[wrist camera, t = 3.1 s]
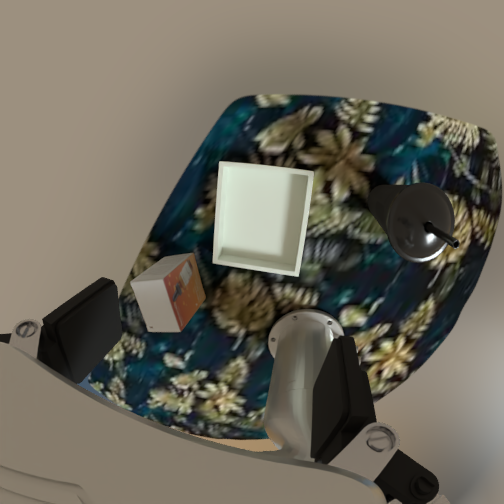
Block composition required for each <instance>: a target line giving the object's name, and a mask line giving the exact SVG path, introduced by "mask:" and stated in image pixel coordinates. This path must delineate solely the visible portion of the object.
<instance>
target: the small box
mask: <svg viewBox="0 0 504 504" xmlns="http://www.w3.org/2000/svg"><path fill="white" fill-rule="evenodd" d="M130 283H131V286H132V288H133V291H134V294H135V296H136V299H137V302H138V305H139V307H140V310H141V312H142V315H143V318H144V320H145V323H146V326H147V329H148V331H149V332H181V331H182V330H183V328H184V327H185V326H186V324H187V323H188V322H189V320H190V319H191V318H192V316H193V315H194V313H195V312H196V311H197V309H198V308H199V307H200V305H201V304H202V303H203V301H204V300H205V299H206V296H205V293H204V290H203V286H202V283H201V279H200V275H199V271H198V267H197V264H196V260H195V255H194V253H187V254H180V255H173V256H167V257H164V258H162V259H161V260H159V261H158V262H157V263H155V264H154V265H152V266H151V267H149V268H148V269H147V270H145V271H144V272H143V273H141V274H140V275H138V276H137V277H136V278H134V279H133V280H132V281H130Z"/></svg>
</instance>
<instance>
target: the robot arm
mask: <svg viewBox="0 0 504 504" xmlns="http://www.w3.org/2000/svg"><path fill="white" fill-rule="evenodd" d="M42 320H43V324H44V325H43V326H42V327H41V325H40V323H39V322H38V321H36V320H33V319H27V320H23V321H20V322H19V323H17V324H16V325H15V327H14V329H13V331H12V333H10V334H0V504H450V503H449V502H448V500H447V499H446V497H445V496H444V495H442V496H439V494H438V491H439V483H438V480H437V478H436V476H435V475H434V474H433V473H431V472H430V471H428V470H427V469H425V468H424V467H423V466H421V465H420V464H418V463H417V462H416V461H414V460H413V459H411V458H410V457H409V456H407V455H406V454H404V453H403V452H402V451H400V450H399V449H398V447H399V445H400V439H399V435H398V433H397V432H396V431H395V429H393V428H392V427H391V426H389V425H387V424H385V423H380V422H378V423H377V421H376V415H375V410H374V404H373V399H372V394H371V389H370V384H369V380H368V375H367V373H366V372H365V371H361V368H360V362H361V358H360V357H358V354H357V352H358V346H356V345H355V341H354V338H353V337H348V336H344V332H343V329H342V327H341V325H340V323H339V322H338V321H337V320H336V319H335V318H334V317H333V316H331V315H329V314H328V313H326V312H323V311H320V310H314V309H301V310H296V311H293V312H290V313H288V314H286V315H284V316H282V317H281V318H280V319H279V320H277V321H276V323H275V324H274V325H273V327H272V329H271V331H270V334H269V339H268V345H269V350H270V352H271V354H272V356H273V357H274V359H275V360H274V366H273V371H272V377H271V382H270V388H269V393H268V398H267V404H266V409H265V415H264V426H265V430H266V433H267V435H268V436H269V438H270V440H271V441H272V442H273V443H274V445H275V446H276V447H277V448H278V449H279V450H277V451H263V452H253V451H249V450H244V449H240V448H235V447H231V446H227V445H223V444H220V443H216V442H212V441H208V440H205V439H201V438H198V437H195V436H192V435H189V434H186V433H183V432H180V431H177V430H174V429H172V428H169V427H166V426H164V425H161V424H158V423H156V422H153V421H151V420H148V419H146V418H143V417H141V416H139V415H136V414H134V413H132V412H130V411H127V410H125V409H123V408H121V407H119V406H117V405H115V404H113V403H111V402H108V401H107V400H105V399H103V398H101V397H99V396H97V395H95V394H93V393H91V392H90V391H88V390H86V389H84V388H82V387H81V386H79V385H77V383H81V382H82V381H83V380H84V378H85V377H86V376H87V375H88V374H89V373H90V372H91V371H92V370H93V369H94V367H95V366H96V365H97V364H98V363H99V362H100V361H101V360H102V359H103V358H104V357H105V355H106V354H107V353H108V352H109V351H110V350H111V349H112V348H113V347H114V346H115V345H116V344H117V343H118V341H119V340H120V339H121V337H122V327H121V319H120V311H119V301H118V291H117V286H116V285H115V282H114V281H113V280H110V279H107V278H104V277H102V278H100V279H98V280H97V281H96V282H94V283H92V284H91V285H89V286H88V287H87V288H85V289H84V290H82V291H81V292H79V293H78V294H76V295H75V296H74V297H72V298H71V299H69V300H68V301H66V302H65V303H64V304H62V305H61V306H59V307H58V308H57V309H55V310H54V311H53V312H51V313H50V314H48V315H47V316H46V317H44V318H43V319H42Z"/></svg>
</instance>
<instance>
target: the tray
mask: <svg viewBox="0 0 504 504" xmlns="http://www.w3.org/2000/svg"><path fill="white" fill-rule="evenodd" d="M313 177H314V171H309V170H302V169H295V168H287V167H279V166H270V165H261V164H251V163H240V162H227V161H219V172H218V185H217V198H216V213H215V229H214V247H213V263H215V264H221V265H227V266H233V267H239V268H246V269H252V270H258V271H265V272H271V273H278V274H284V275H291V276H298V277H299V271H300V265H301V259H302V253H303V247H304V241H305V234H306V228H307V221H308V214H309V207H310V200H311V193H312V185H313Z"/></svg>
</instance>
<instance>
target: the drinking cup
mask: <svg viewBox="0 0 504 504" xmlns="http://www.w3.org/2000/svg"><path fill="white" fill-rule="evenodd" d="M368 207H369V210H370V212H371V213H372V215H373V216H374V217H375V219H376V220H377V221H378V223H379V224H380V226H381V227H382V228H383V230H384V231H385V233H386V234H387V236H388V239H389V242H390V244H391V246H392V247H393V249H394V250H395V251H396V253H397V254H398V255H400V256H401V257H402V258H404V259H405V260H408V261H410V262H416V263H421V262H427V261H430V260H432V259H434V258H435V257H437V256H438V255H440V254H441V253H442V252H443V251H444V249H445V248H446V247H447V245H448V244H449V245H450V246H452V247H453V248H455V249H456V248H458V247H459V244H460V243H459V241H458V240H457V239H455V238H454V237H452V234H453V231H454V224H455V218H454V211H453V207H452V204H451V202H450V200H449V198H448V197H447V195H446V194H445V193H444V192H443V191H442V190H441V189H440V188H438V187H437V186H435V185H432V184H429V183H415V184H411V185H379V186H377V187H375V188H374V189H373V190H372V191H371V192H370V194H369V196H368Z"/></svg>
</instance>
